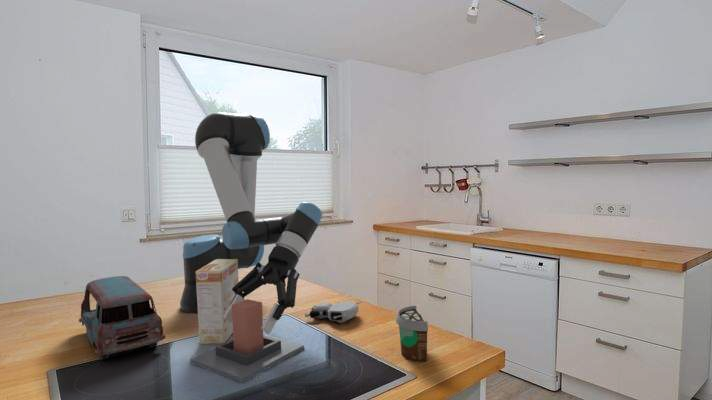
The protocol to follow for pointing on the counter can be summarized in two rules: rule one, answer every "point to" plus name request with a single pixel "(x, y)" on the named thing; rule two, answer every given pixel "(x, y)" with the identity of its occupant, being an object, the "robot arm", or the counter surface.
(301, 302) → the counter surface
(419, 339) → the food container
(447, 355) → the counter surface
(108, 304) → the toy van
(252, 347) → the salmon pink rectangular block
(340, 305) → the robot toy
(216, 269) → the coffeecake box
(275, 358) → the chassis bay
